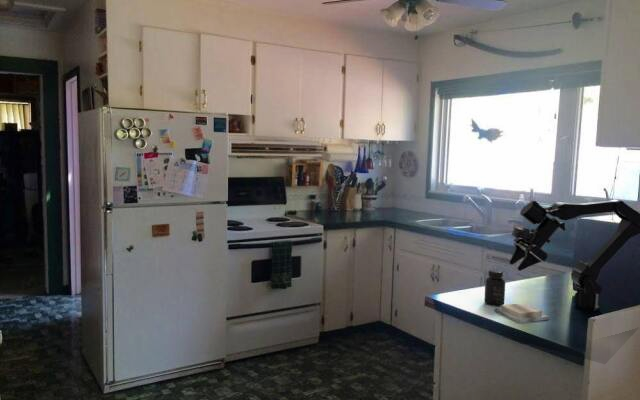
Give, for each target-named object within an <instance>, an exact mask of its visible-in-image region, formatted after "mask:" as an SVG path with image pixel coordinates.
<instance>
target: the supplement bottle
mask: <svg viewBox="0 0 640 400" xmlns="http://www.w3.org/2000/svg"><path fill="white" fill-rule="evenodd" d="M503 274H504V271H503V270H500V269H489V270H488V274H487V275H488V277H486V278H485V280H484V281H485V282H484V300H483V301H484V303H485V304H486V305H488V306H493V307H501V305H505V300H506V299H505V298H506V295H505V294H506V280H505V279H504V275H503Z"/></svg>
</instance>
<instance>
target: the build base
mask: <svg viewBox="0 0 640 400" xmlns="http://www.w3.org/2000/svg"><path fill="white" fill-rule="evenodd" d="M493 312H494V313H496V314H499V315H500V316H503V317H505V318H508V319H510V320H512V321H513V322H516V323H518V324H522V323H530V322H538V321H539V322H540V321H545V320H546V321H547V320H549V319H550V316H548V315H546V314H544V313H543V311H542V310H541V309H538V308H536V307H534V306H531V305H528V304H526V303H523V302H520V303H518V302H517V303H509V304H504V305H501V306H500V307H497V308H494V309H493Z"/></svg>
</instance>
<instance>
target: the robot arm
mask: <svg viewBox="0 0 640 400" xmlns="http://www.w3.org/2000/svg"><path fill="white" fill-rule="evenodd" d="M604 213H605V214H606V213H615V215H616V217H618V218H619V219H621V220H620V221H619V223H618V227H617V229H616V231H615V232H614V233H613V234H612V235H611V237H610V238H608V240H607V241H606V242H605V243H603V245H602V246H601V247H600V248H599V250H598V251H596V253H595V254H594V255H592V257H591V258H590V259H589V260H588V261H585V262H583V261H582V260H581V261H580V260H579V262H577V264H576V265H575V266H574V267H573V268H572V272H571V273H570V277H571V281H572V282H573V283H574V284H575V287H576V288H577V289H576V292H575V293H574V306H573V307H574V308H578V309H582V310H587V311H591V312H595V311H596V310H598V309H599V307H600V306H599V303H598V302H599V295H600V294H601V293H602V290H603V287H602V286H601V285H600V284H599V283H598V282H597V281H598V279H600V274H601V272H602V269H603V268H604V267H605V266H607V264H608V263H609V262H610V261H611V259H612V258H613V257H614V256H615V255H616V254H617V253H618V252H619V251H620V250H621V249H622V248H623V247H624V246H625V245H626V243H627V242H629V240H630V239H632V238H634V237H637V236H639V235H640V213H639V211H637V210H636V209H634V208H633V207H631V206H629V205H628V204H627V203H626V202H624V201H623V200H620V199H611V200H601V201H593V202H592V201H591V202H581V203H576V202H575V203H573V202H565V201H562V202H561V201H560V202H559V201H557V202H554V203H553V204H552V206H547V207H543V206H542V205H541V204H540V203H539V202H538V201H536V200H534V199H532V200H531V201H530V202H529V203H527V204H526V205H525V206H523V207H522V209H521V210H520V213H519V214H520V216H522V217H523V218H524V219H526V221H528V222H529V223H530V224H532V225H536V227H535V229H534V228H532V229H529V228H525V227H523V228H520V227H517V226H514V228H513V230H512V233H511V236H513V237H514V240H513V245H514V246H513V247H514V250H513V253H512V255H511V258H510V260H509V264H510V265H511V266H512V265H514V264H515V263H517V262H519V261H520V260H521V261H520V263H519V265H518V267H517V268H516V269H517V270H518V271H520V272H521V271H523V270H525V269H527V268H529V267H532V266H534V265H536V264H539V263H542V262H545V261H546V260H547V258H548V253H547V252H546V251H544V250H543V248H544V246H545V245H547V243H548V244H549V243H550V242H551V240H550V239H551V238H552V237H553V235H555V233H556V232H557V231H558V230H561V231H566V225H565V222H563V221H568V220H569V221H570V220H573V219H576V218H578V217H580V216H585V215H586V216H587V215H596V214H604ZM549 216H551V218H550V217H549ZM557 219H559V220H562V221H561V222H560V221H559V220H557Z"/></svg>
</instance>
